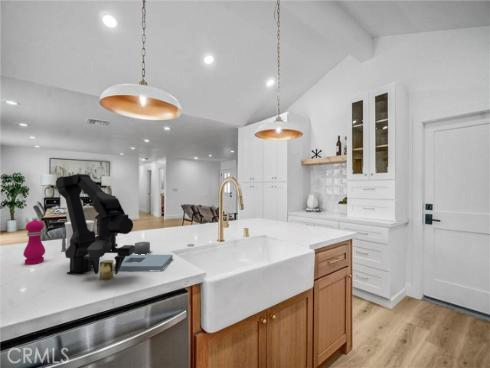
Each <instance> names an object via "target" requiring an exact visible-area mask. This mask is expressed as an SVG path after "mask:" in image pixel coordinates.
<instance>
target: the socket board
mask: <svg viewBox="0 0 490 368" xmlns="http://www.w3.org/2000/svg"><path fill="white" fill-rule="evenodd" d="M173 256H174V254H145V255H135V254H132V255H130V256H126V257H125V259H124V260H123V262H122V264H121V267H120V269H119V271H118V272H151V271H150V270H162V271H164V269H165V268H166V267H167V266H168V265H169V264H168V263H171V261H172V260H173V259H172V258H173ZM171 259H172V260H171ZM170 260H171V261H170ZM167 264H168V265H167ZM166 265H167V266H166ZM165 266H166V267H165ZM164 267H165V268H164ZM163 268H164V269H163ZM113 272H115V263H114V269H113Z"/></svg>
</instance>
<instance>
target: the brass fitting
mask: <svg viewBox="0 0 490 368" xmlns="http://www.w3.org/2000/svg"><path fill="white" fill-rule="evenodd" d="M114 261H115V260H114V259H113V260H112V259H107V260H102V261H99V281H109V280H111V279H113V278H114V271H113V269H114V264H115V262H114Z"/></svg>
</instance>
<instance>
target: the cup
mask: <svg viewBox="0 0 490 368" xmlns="http://www.w3.org/2000/svg"><path fill="white" fill-rule="evenodd" d="M86 223H87V228H88V229H89V230H90V231H94V229H93V228H94V223H95V221H94V220H86ZM64 227H65V228H64V229H65V234H66V237H67V236H68V243H69V246H70V239H71V237H72V234H73V230H72V225H71V222H67V221H66V222H64Z"/></svg>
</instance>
